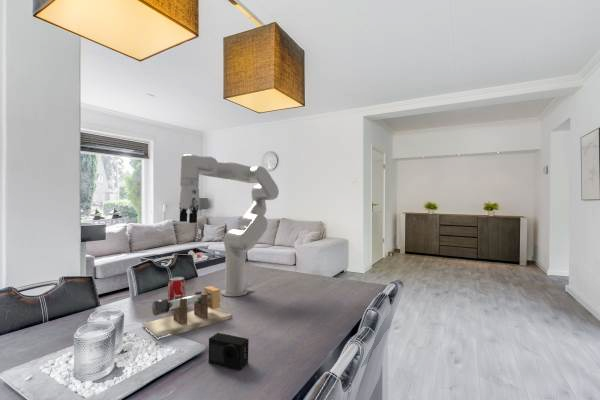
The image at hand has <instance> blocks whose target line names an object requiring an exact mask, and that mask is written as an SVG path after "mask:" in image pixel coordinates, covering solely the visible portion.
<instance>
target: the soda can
mask: <svg viewBox="0 0 600 400" xmlns="http://www.w3.org/2000/svg"><path fill="white" fill-rule="evenodd" d="M177 295H181V298H185V297H186V280H185V277H183V276H173V277H170V278H169V281H168V283H167V300H168V301H171V300H175V296H177Z"/></svg>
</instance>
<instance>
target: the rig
mask: <svg viewBox="0 0 600 400" xmlns="http://www.w3.org/2000/svg"><path fill="white" fill-rule="evenodd" d="M202 292H203V291H201V290H197V291H195V293H194V294H195V295H199V294H201V302H200V303H196V304H193V308H194V309H193V310H191V311H188V309H187V307H188V305H187V298H182V299H180V298H181V295H177V296H175V299H180V307H179V308H174V309H173V315H172V316H167V317H163V318H159V319H155V320H152V321H148V322H147V321H146V322H142V326H143V325H144V326H145V327H146V328H147V329H148V330H150V331H151V332H152V333H153V334H154V335H155V336H156V337H157V338H159V337H162V336H166V335H168V334H171V335H172V336H174V335H175V336H177V335H178V334H182V333H185V332H189V331H192V330H195V329H200V328H203V327H206V326H210V325H212V324H215V323H219V322H222V321H223V322H224V321H227V320H230V319H233V314H231V313H229V312H228V311H225V310H223V309H222V308H216V309H211V308H209V307H208V304H207V294H206V293H205V294H204V293H202Z"/></svg>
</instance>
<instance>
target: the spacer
mask: <svg viewBox="0 0 600 400" xmlns="http://www.w3.org/2000/svg"><path fill="white" fill-rule="evenodd" d="M203 291H204V292H203V294H204V293H210V294H211V300H209V301H207V304H208V307H209V308H211V309H216V308H220V307H221V304H220V303H221V289H219V288H217V287H214V286H212V285H210V286H204V288H203ZM220 309H221V308H220Z"/></svg>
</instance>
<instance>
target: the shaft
mask: <svg viewBox="0 0 600 400" xmlns="http://www.w3.org/2000/svg"><path fill="white" fill-rule="evenodd" d="M203 294H205V293H204V292H203ZM206 294H207V301H209V300H211V294H210V293H206ZM185 298H187V306H191V305H194V304H196V303H200V302H201V294H199V295H189V296H185ZM180 299H182V298H180ZM180 299H175V300H171V301H168V298H163V299H158V300H154V301H153V302H152V304H151V306H152V307H151V309H152V313H153V315H154V316H155V317H156V316H161V315H164V314H168V313H169V312H170V310H174V308H179V307H180Z"/></svg>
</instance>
